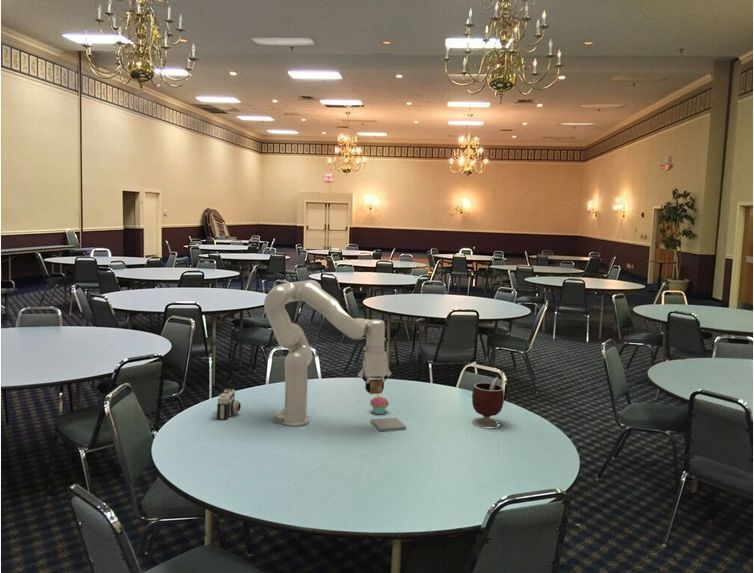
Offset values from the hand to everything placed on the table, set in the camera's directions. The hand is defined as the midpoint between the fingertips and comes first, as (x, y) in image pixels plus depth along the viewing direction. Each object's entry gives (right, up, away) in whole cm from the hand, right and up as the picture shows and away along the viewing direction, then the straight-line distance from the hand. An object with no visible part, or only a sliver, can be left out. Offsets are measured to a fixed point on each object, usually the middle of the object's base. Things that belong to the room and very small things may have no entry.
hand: (374, 390), depth 249 cm
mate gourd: (+50, -17, +15) cm, 55 cm away
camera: (-64, -13, +10) cm, 66 cm away
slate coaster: (+6, -16, +5) cm, 18 cm away
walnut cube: (0, -1, 0) cm, 1 cm away
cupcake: (+2, -14, +22) cm, 27 cm away
